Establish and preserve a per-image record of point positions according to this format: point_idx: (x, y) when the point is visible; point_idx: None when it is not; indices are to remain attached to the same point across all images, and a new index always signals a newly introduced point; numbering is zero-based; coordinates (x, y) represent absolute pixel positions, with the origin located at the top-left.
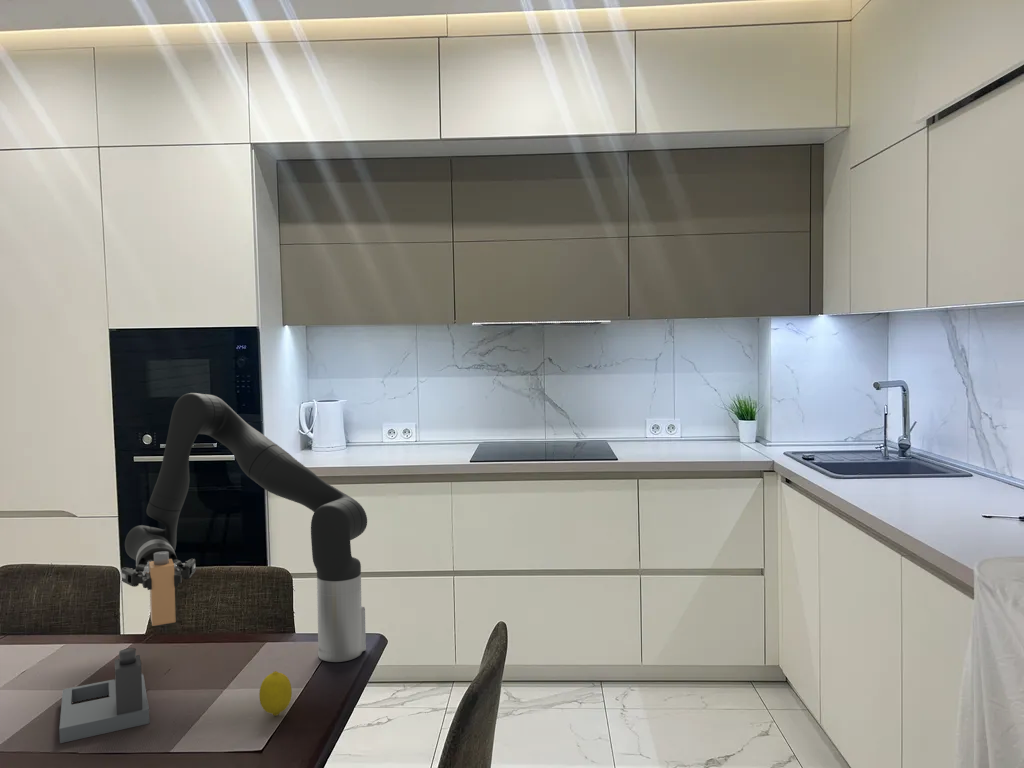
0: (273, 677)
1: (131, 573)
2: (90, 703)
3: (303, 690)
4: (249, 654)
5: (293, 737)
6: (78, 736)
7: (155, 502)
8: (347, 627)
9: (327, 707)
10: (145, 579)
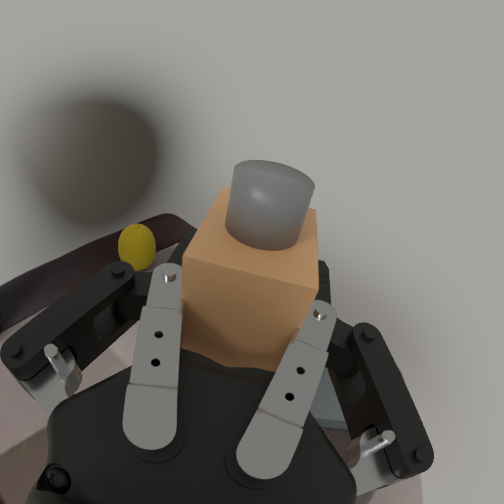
0: (142, 225)
1: (381, 340)
2: (337, 410)
3: None
4: (27, 452)
5: (157, 234)
6: None
7: None
8: None
9: (96, 249)
10: (319, 270)
